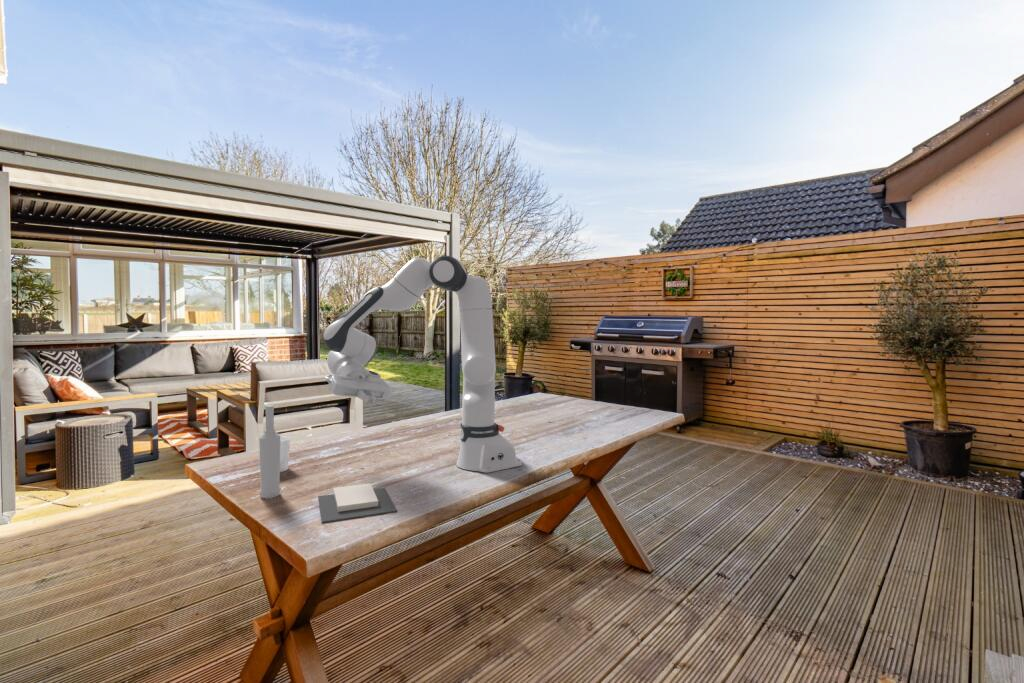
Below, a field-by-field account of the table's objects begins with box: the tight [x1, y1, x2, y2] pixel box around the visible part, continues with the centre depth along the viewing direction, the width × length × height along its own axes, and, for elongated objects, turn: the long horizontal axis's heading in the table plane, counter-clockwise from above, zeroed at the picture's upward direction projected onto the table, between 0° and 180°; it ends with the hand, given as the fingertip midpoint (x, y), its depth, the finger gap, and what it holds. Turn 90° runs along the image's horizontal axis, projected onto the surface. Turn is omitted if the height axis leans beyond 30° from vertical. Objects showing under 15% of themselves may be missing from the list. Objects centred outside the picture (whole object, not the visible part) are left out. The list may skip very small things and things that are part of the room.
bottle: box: [258, 404, 281, 500], centre depth 131 cm, size 5×5×25 cm
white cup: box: [280, 435, 291, 473], centre depth 153 cm, size 8×8×10 cm
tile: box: [332, 482, 378, 512], centre depth 129 cm, size 10×2×14 cm
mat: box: [317, 487, 398, 524], centre depth 127 cm, size 18×18×1 cm
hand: (370, 401), depth 148 cm, fingers closed
